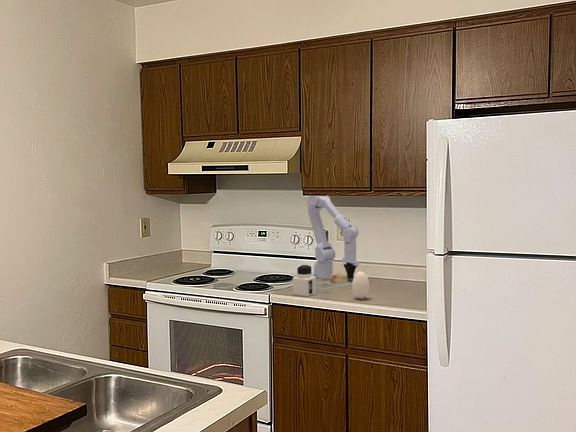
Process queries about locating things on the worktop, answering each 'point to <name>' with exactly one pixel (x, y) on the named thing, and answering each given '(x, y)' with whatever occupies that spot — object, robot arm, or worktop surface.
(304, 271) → the container
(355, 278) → the egg
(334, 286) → the board
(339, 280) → the oak block
